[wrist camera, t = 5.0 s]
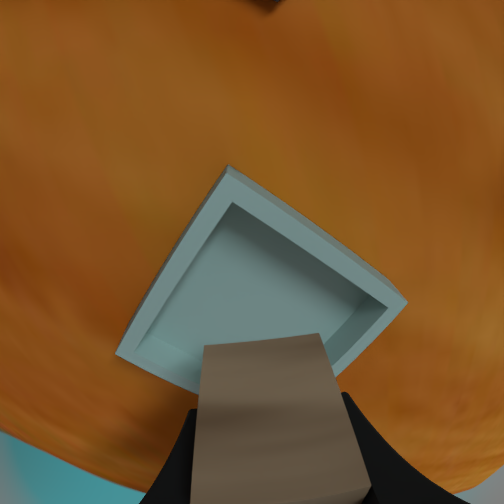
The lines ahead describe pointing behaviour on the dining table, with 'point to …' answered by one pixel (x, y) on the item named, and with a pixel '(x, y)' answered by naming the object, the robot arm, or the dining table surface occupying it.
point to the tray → (254, 287)
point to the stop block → (274, 427)
